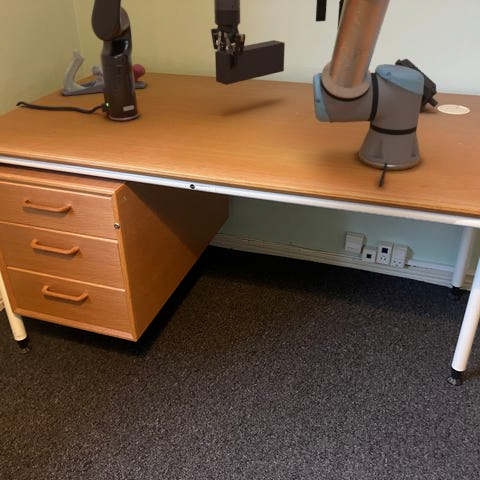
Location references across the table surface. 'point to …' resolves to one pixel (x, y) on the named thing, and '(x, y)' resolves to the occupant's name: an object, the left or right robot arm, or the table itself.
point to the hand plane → (95, 85)
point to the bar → (250, 62)
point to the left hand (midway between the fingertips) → (228, 66)
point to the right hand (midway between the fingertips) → (331, 25)
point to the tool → (428, 87)
